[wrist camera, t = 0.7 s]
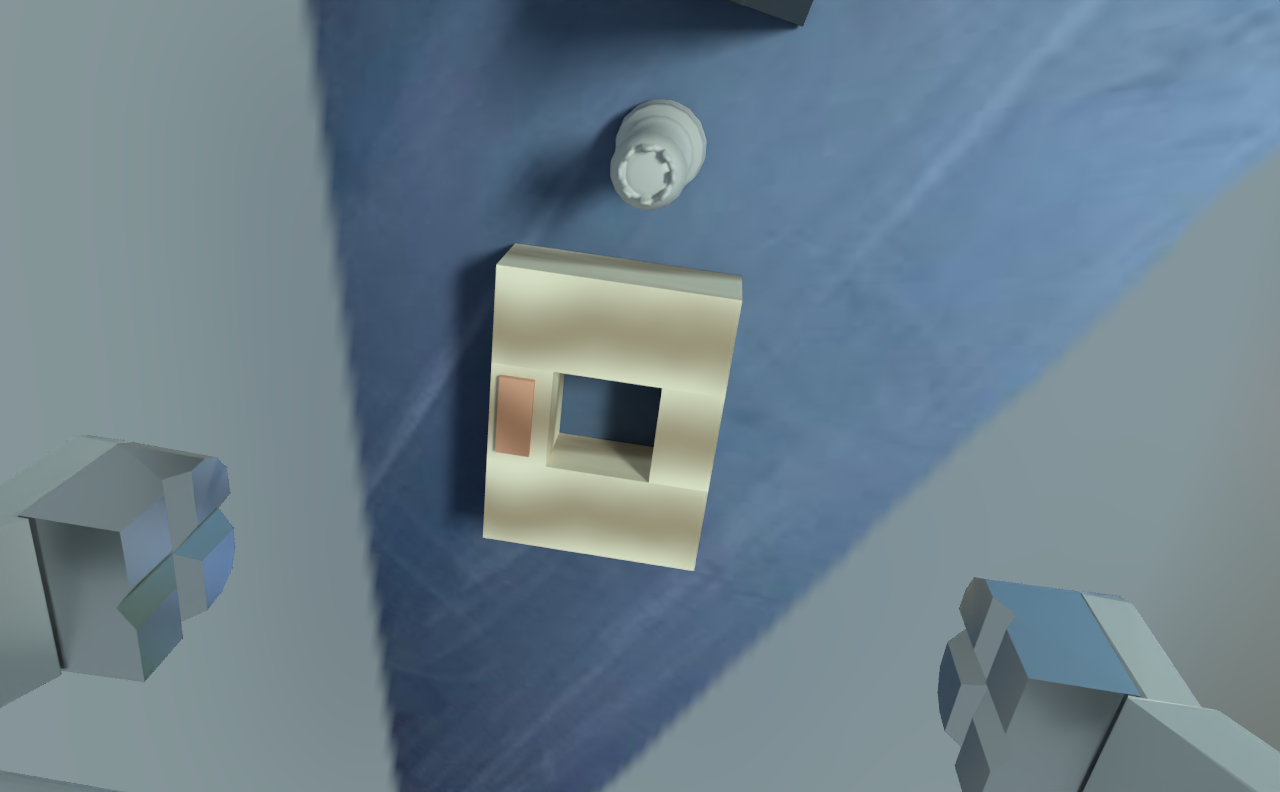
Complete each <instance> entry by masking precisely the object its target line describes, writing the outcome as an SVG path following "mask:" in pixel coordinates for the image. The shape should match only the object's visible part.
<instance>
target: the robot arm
mask: <svg viewBox="0 0 1280 792" xmlns="http://www.w3.org/2000/svg"><path fill="white" fill-rule="evenodd" d="M229 494H230V486H229V479H228V472H227V467H226V466H225V465H224V464H223V463H222V462H221V461H220V460H219V459H218V458H217V457H213V456H207V455H201V454H196V453H190V452H185V451H179V450H173V449H168V448H162V447H157V446H151V445H145V444H140V443H134V442H130V443H129V442H127V441H124V440H118V439H110V438H103V437H97V436H90V435H88V436H73V437H71V438H70V439H69V440H67V441H65V442H64V443H62V444H61V445H59V446H58V447H56V448H54V449H53V450H51V451H50V452H48V453H47V454H45V455H44V456H42V457H41V458H39V459H37V460H36V461H34V462H33V463H31V464H30V465H28V466H27V467H25V468H24V469H22V470H20V471H19V472H17V473H16V474H14V475H13V476H11V477H10V478H8V479H7V480H5V481H3V482H2V483H0V708H1V707H3V706H5V705H6V704H8V703H10V702H12V701H14V700H16V699H18V698H20V697H21V696H23V695H25V694H27V693H29V692H31V691H33V690H34V689H36V688H38V687H40V686H42V685H44V684H46V683H47V682H49V681H51V680H53V679H55V678H57V677H59V676H60V675H61V674H62V673H61V671H68V672H76V673H82V674H90V675H97V676H104V677H111V678H119V679H126V680H133V681H140V682H145V681H146V680H147V679H148V678H149V676H150V675H151V674H152V673H153V672H154V671H155V670H156V668H157V667H158V666H159V665H160V664H161V663H162V662H163V660H164V659H165V658H166V657H167V656H168V655H169V654H170V652H171V651H172V650H173V649H174V648H175V647H176V646H177V644H178V643H179V642H180V641H181V640H182V639H183V633H182V624H181V622H182V621H184V620H186V619H188V618H191V617H193V616H195V615H198V614H200V613H202V612H204V611H207V610H208V609H209V608H210V606H211V605H212V604H213V603H214V601H215V600H216V599H217V598H218V597H219V595H220V594H221V593H222V591H223V589H224V586H225V584H226V582H227V579H228V577H229V575H230V572H231V570H232V568H233V560H234V553H235V537H234V527H233V526H232V525H231V523H229V521H228V519H227V518H226V517H225V516H224V514H223V513H222V512H221V511H220V509H219V507H220V506H221V504H222V503H223V502H224V501H225V499H226V498H227V497H228V496H229ZM959 610H960V613H961V615H962V618H963V621H964V624H965V627H966V629H965V630H964V631H962V632H961V633H959V634H958V635H956V636H955V637H954V638H952V639H951V640H949V641H948V643H947V645H946V649H945V652H944V655H943V659H942V662H941V665H940V672H939V684H938V700H939V710H940V714H941V719H942V723H943V726H944V730H945V732H946V733H947V734H948V735H949V736H950V737H951V738H953V740H954V741H955V742H956V743H958V745H960V747H961V750H960V753H959V756H958V758H957V761H956V764H955V768H956V772H957V775H958V778H959V782H960V785H961V789H962V792H1280V753H1279V752H1278V751H1277V750H1275V749H1274V748H1272V747H1271V746H1269V745H1268V744H1266V743H1265V742H1264V741H1262V740H1261V739H1259V738H1257V737H1256V736H1255V735H1253V734H1252V733H1250V732H1249V731H1247V730H1246V729H1245V728H1243V727H1241V726H1240V725H1239V724H1237V723H1236V722H1234V721H1233V720H1231V719H1230V718H1229V717H1227V716H1225V715H1224V714H1223V713H1221V712H1219V711H1218V710H1213V709H1207V708H1201V706H1200V705H1199V703H1198V702H1197V700H1196V699H1195V697H1194V696H1193V694H1192V693H1191V691H1190V690H1189V688H1188V687H1187V685H1186V684H1185V682H1184V680H1183V679H1182V678H1181V676H1180V675H1179V673H1178V672H1177V670H1176V669H1175V667H1174V665H1173V664H1172V662H1171V661H1170V659H1169V658H1168V656H1167V655H1166V654H1165V652H1164V650H1163V649H1162V647H1161V646H1160V645H1159V643H1158V641H1157V640H1156V638H1155V637H1154V636H1153V634H1152V632H1151V631H1150V629H1149V628H1148V626H1147V625H1146V624H1145V622H1144V620H1143V619H1142V618H1141V616H1140V615H1139V613H1138V611H1137V610H1136V608H1135V607H1134V605H1132V603H1131V602H1129V601H1128V600H1126V599H1125V598H1123V597H1121V596H1117V595H1109V594H1100V593H1093V592H1084V591H1076V590H1064V589H1057V588H1049V587H1042V586H1034V585H1027V584H1019V583H1012V582H1005V581H997V580H990V579H983V578H973V580H972V581H971V583H970V584H969V586H968V587H967V589H966V590H965V593H964V596H963V599H962V602H961V604H960V607H959ZM0 792H122V791H117V790H110V789H105V788H99V787H93V786H88V785H82V784H76V783H70V782H65V781H59V780H53V779H47V778H41V777H36V776H30V775H24V774H18V773H13V772H6V771H1V770H0Z"/></svg>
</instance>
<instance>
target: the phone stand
mask: <svg viewBox="0 0 1280 792" xmlns="http://www.w3.org/2000/svg"><path fill="white" fill-rule="evenodd" d="M730 1H732V2H735V3H738V4H740V5H743V6H744V5H745V6H747V7H750V8H753V9H756V10H758V11H761V12H764V13H767V14H769V15H772V16H775V17H778V18H781V19H783V20H786V21H789V22H792V23H794V24H797V25H800V26H803V25H804V22H805V20H806V17H807V15H808V12H809V10H810V7H811V5H812V2H813V0H730Z"/></svg>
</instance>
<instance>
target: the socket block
mask: <svg viewBox="0 0 1280 792" xmlns="http://www.w3.org/2000/svg"><path fill="white" fill-rule="evenodd" d="M741 305H742V276H738V275H731V274H724V273H718V272H711V271H704V270H697V269H690V268H683V267H676V266H669V265H662V264H655V263H649V262H642V261H635V260H628V259H621V258H614V257H607V256H600V255H593V254H587V253H580V252H573V251H566V250H559V249H552V248H545V247H538V246H531V245H525V244H518V243H515V244H514V245H513V246H512V248H511V249H510V250H509V251H508V252H507V253H506V254H505V255H504V257H503V258H502V259H501V260H500V261H499V262H498V263H497V264H496V282H495V303H494V323H493V343H492V363H491V384H490V404H489V424H488V445H487V465H486V485H485V506H484V526H483V538H490V539H496V540H502V541H508V542H515V543H521V544H527V545H534V546H540V547H546V548H552V549H559V550H565V551H571V552H577V553H584V554H590V555H596V556H603V557H609V558H615V559H621V560H628V561H634V562H640V563H647V564H653V565H659V566H665V567H672V568H678V569H684V570H691V571H694V568H695V562H696V556H697V551H698V545H699V540H700V534H701V529H702V523H703V517H704V512H705V506H706V501H707V495H708V489H709V484H710V478H711V473H712V467H713V461H714V456H715V450H716V445H717V439H718V434H719V428H720V422H721V417H722V411H723V406H724V400H725V394H726V389H727V383H728V378H729V372H730V366H731V361H732V355H733V350H734V344H735V338H736V333H737V327H738V322H739V316H740V311H741ZM564 374H571V375H578V376H584V377H591V378H597V379H604V380H611V381H617V382H624V383H631V384H637V385H644V386H650V387H657V388H662V393H661V400H660V407H659V414H658V421H657V428H656V435H655V442H654V447H650V446H643V445H637V444H630V443H624V442H617V441H610V440H604V439H597V438H591V437H584V436H578V435H571V434H565V433H559V429H560V417H561V406H562V395H563V384H564Z"/></svg>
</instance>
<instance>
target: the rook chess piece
mask: <svg viewBox="0 0 1280 792" xmlns="http://www.w3.org/2000/svg"><path fill="white" fill-rule="evenodd" d="M705 153H706V137H705V134H704V131H703V128H702V125H701V122H700V121H699V120H698V119H697V117H696V116H695V115H694V114H693V113H692V112H691V110H690V109H689V108H687V107H685V106H683V105H681V104H679V103H677V102H675V101H673V100H662V99H653V100H650V101H648V102H645V103H642V104H640V105H637V106H636V107H635V108H634V109H633V110H632V111H631V112H630V113H629V114H628V115H627V116H626V117H625V118H624V119H623V122H622V124H621V126H620V128H619V131H618V133H617V136H616V148H615V153H614V155H613V157H612V160H611V169H610V177H611V180H612V183H613V185H614V188H615V191H616V192H617V193H618V194H619V195H620V197H621V198H622V199H623V200H624V201H625V202H626V203H628V204H630V205H632V206H634V207H636V208H638V209H646V210H656V209H659V208H662V207H665V206H668V205H669V204H670V203H671V202H673V201H674V200H675V199H676V198H677V197H678V196H679V195H680V193H681V191H682V189H683V188H684V187H685V186H686V185H687V184H688V183H689V182H691V181H692V180H693V179H694V178H695V177H696V175H697V174H698V172H699V170H700V168H701V166H702V164H703V162H704V160H705Z"/></svg>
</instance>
